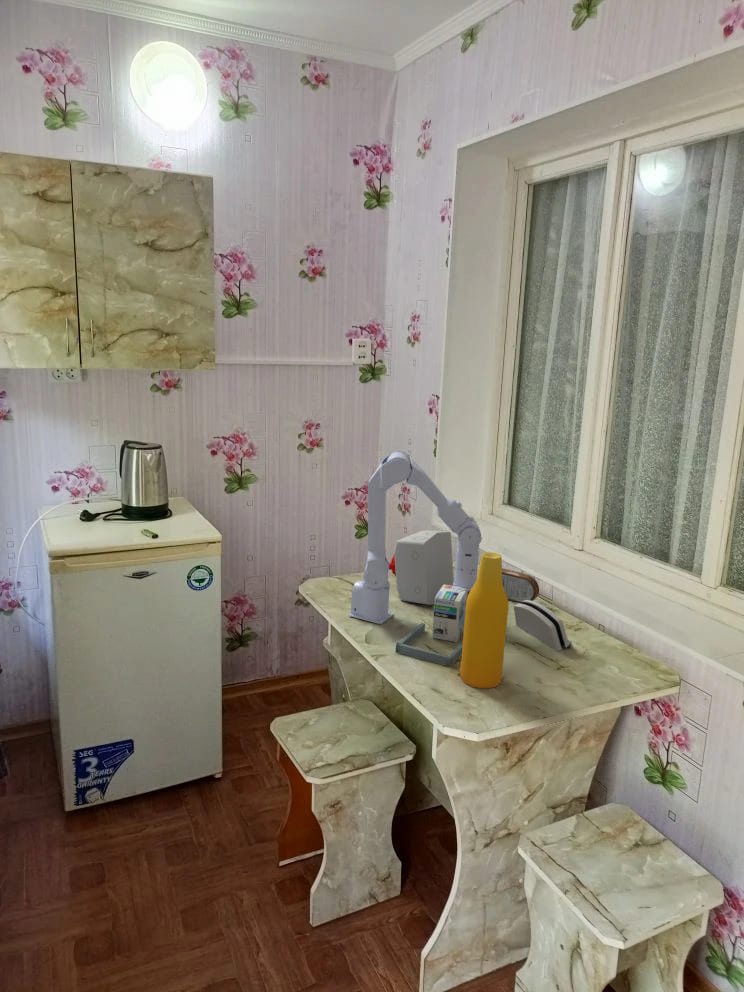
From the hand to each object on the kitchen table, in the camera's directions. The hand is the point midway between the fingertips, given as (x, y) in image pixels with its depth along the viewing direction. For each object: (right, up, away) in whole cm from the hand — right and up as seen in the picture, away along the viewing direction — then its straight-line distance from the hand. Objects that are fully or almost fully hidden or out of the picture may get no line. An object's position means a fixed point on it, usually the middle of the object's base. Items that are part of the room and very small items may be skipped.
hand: (462, 616), depth 199 cm
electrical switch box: (-11, +3, +18) cm, 21 cm away
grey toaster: (+19, -5, -6) cm, 20 cm away
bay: (-8, -5, -15) cm, 18 cm away
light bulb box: (-4, -3, -6) cm, 8 cm away
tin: (+16, +2, +18) cm, 24 cm away
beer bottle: (0, -9, -30) cm, 31 cm away
